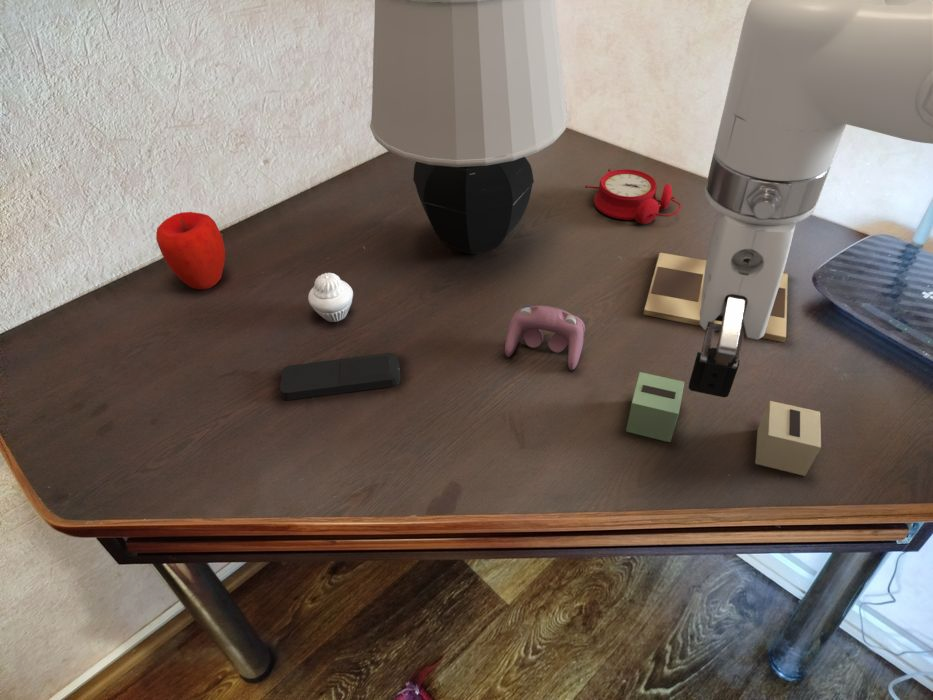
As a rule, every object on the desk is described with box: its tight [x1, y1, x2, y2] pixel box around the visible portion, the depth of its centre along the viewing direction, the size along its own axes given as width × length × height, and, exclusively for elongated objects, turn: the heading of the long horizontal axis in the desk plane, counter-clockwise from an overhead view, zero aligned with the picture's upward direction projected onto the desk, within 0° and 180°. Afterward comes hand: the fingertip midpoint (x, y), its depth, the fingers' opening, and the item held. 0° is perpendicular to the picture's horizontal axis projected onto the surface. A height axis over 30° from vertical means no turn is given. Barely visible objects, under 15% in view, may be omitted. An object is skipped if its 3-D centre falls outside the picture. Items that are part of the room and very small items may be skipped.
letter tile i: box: [625, 371, 685, 443], centre depth 72 cm, size 5×5×5 cm
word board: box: [643, 252, 789, 343], centre depth 89 cm, size 18×14×1 cm
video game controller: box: [504, 305, 586, 371], centre depth 82 cm, size 10×5×7 cm, turn 71°
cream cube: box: [754, 400, 822, 477], centre depth 69 cm, size 5×5×5 cm
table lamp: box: [369, 0, 570, 255], centre depth 88 cm, size 27×27×40 cm
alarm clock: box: [584, 168, 682, 225], centre depth 106 cm, size 10×6×15 cm
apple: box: [155, 211, 226, 290], centre depth 94 cm, size 9×9×11 cm
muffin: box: [307, 272, 354, 323], centre depth 88 cm, size 6×6×7 cm
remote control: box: [279, 352, 402, 401], centre depth 81 cm, size 5×2×15 cm
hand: (712, 353), depth 57 cm, fingers open, 9 cm apart
